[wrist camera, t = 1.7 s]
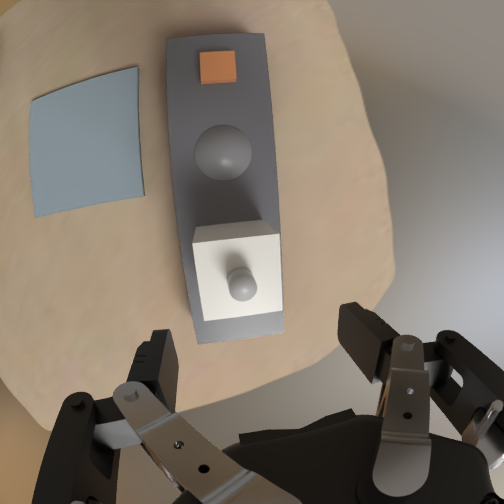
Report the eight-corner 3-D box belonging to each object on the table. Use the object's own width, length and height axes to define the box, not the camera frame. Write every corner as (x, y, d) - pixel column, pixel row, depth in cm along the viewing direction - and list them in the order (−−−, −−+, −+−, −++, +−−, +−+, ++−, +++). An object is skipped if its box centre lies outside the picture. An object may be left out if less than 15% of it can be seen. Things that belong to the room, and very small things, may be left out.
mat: (33, 102, 20) (30, 101, 19) (138, 68, 22) (137, 66, 21) (38, 216, 24) (35, 217, 23) (144, 195, 26) (143, 196, 25)
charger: (196, 223, 25) (190, 249, 16) (258, 216, 26) (286, 239, 17) (204, 281, 27) (204, 332, 18) (262, 274, 27) (288, 320, 18)
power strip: (171, 55, 22) (165, 35, 17) (256, 49, 23) (265, 29, 18) (198, 324, 30) (197, 348, 26) (275, 314, 31) (286, 336, 27)
